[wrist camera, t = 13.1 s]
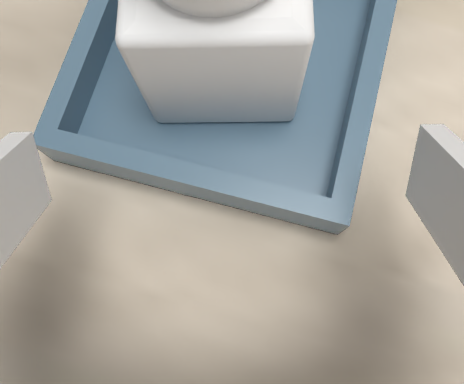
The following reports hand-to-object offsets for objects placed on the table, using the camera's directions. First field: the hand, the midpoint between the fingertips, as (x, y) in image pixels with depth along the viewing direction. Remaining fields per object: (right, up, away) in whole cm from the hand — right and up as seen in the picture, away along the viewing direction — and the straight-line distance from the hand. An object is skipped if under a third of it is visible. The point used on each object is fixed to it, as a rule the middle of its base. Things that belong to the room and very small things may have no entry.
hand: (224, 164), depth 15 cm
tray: (0, +6, +8) cm, 10 cm away
